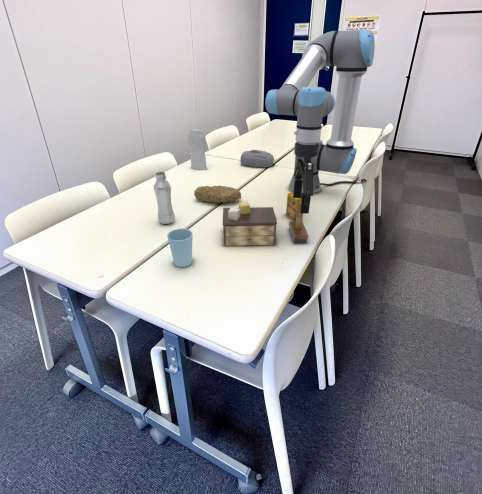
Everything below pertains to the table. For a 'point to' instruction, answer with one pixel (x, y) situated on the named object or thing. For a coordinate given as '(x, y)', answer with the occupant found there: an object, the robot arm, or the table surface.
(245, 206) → the paper ball yellow
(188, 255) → the cup
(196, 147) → the tall pale column
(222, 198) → the sponge
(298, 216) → the brush
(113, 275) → the table surface
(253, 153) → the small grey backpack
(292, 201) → the crayon box
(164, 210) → the plastic bottle
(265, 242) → the cabinet
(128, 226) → the table surface
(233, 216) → the white faceted lump
